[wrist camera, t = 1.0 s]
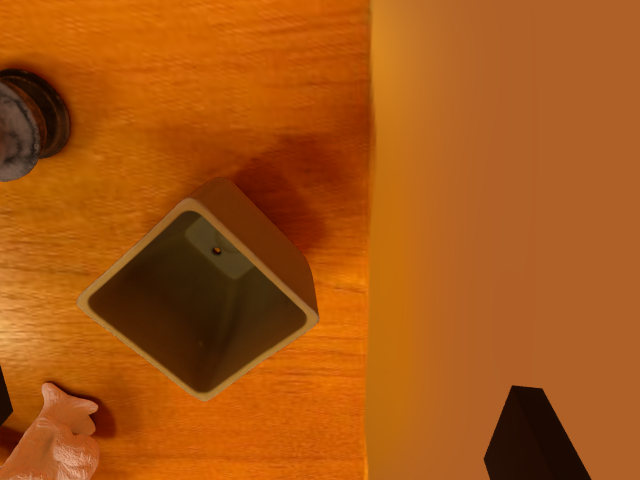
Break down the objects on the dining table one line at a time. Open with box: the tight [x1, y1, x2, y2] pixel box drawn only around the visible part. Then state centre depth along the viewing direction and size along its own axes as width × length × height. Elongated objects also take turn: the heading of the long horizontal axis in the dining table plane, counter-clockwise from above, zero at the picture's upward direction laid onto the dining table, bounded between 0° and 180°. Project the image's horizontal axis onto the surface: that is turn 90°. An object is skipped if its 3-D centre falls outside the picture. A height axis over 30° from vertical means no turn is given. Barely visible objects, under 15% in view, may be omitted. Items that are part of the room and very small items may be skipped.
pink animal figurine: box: [0, 383, 100, 480], centre depth 33 cm, size 8×7×12 cm
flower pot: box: [76, 177, 319, 401], centre depth 26 cm, size 9×9×9 cm
